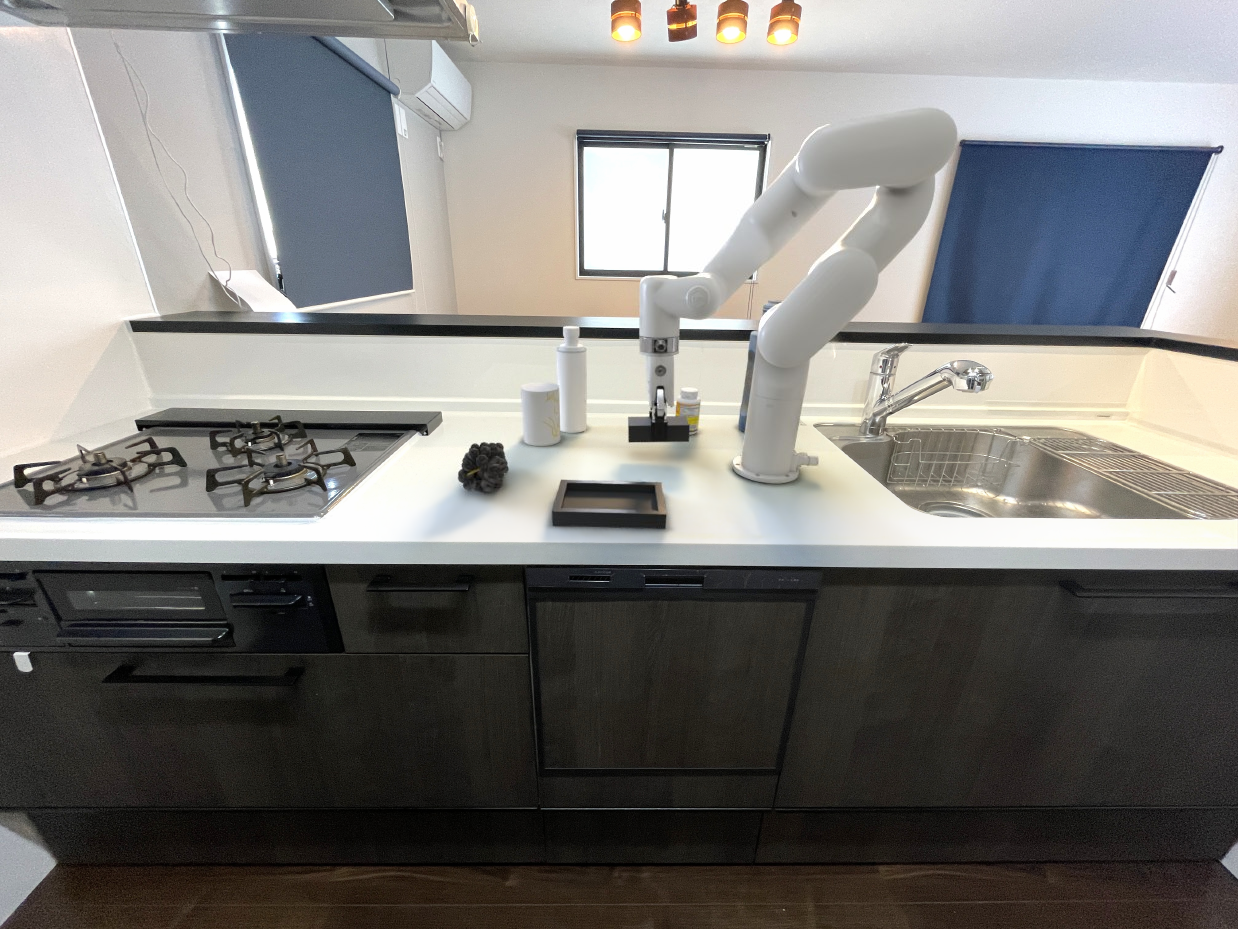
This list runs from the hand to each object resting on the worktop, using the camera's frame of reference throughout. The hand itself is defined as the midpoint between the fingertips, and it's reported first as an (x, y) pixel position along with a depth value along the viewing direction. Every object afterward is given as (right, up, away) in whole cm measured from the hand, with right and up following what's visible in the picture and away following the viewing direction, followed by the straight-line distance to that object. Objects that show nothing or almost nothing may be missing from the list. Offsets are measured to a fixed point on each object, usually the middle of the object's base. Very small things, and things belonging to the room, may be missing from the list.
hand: (657, 434), depth 100 cm
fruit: (-31, -9, -11) cm, 34 cm away
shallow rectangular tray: (-9, -14, -19) cm, 25 cm away
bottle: (+26, +2, +20) cm, 33 cm away
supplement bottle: (+8, +2, +17) cm, 19 cm away
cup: (-25, -1, +10) cm, 27 cm away
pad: (0, -1, 0) cm, 1 cm away
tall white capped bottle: (-19, +2, +17) cm, 26 cm away
